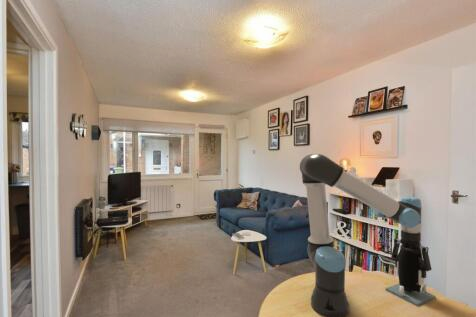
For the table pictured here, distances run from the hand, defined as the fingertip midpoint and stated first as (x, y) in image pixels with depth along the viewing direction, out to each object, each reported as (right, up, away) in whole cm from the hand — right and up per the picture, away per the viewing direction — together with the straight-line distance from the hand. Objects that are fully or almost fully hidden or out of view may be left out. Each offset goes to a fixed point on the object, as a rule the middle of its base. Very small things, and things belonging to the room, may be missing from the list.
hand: (409, 279), depth 115 cm
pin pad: (0, -7, 0) cm, 7 cm away
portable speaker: (0, -5, 0) cm, 5 cm away
